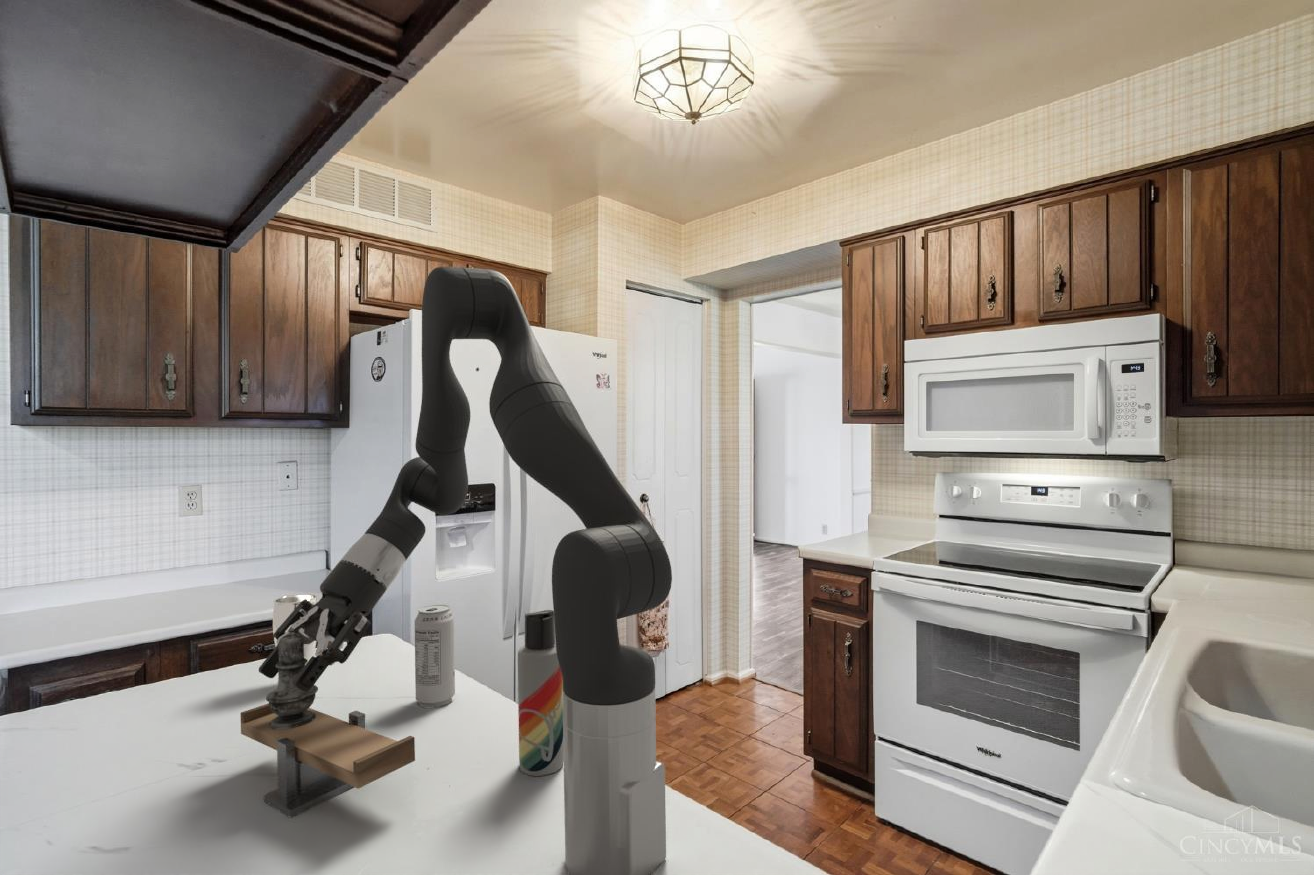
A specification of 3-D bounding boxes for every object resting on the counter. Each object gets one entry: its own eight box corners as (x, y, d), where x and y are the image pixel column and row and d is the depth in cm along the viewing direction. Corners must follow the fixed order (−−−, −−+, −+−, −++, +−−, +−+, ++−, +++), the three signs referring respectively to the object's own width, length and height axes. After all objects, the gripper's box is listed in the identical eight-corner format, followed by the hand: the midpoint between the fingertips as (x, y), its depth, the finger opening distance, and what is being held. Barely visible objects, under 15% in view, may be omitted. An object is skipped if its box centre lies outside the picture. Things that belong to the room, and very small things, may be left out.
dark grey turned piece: (295, 732, 80) (293, 634, 80) (254, 729, 81) (252, 632, 81) (328, 712, 85) (326, 621, 86) (290, 709, 87) (288, 620, 87)
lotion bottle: (529, 781, 80) (527, 619, 80) (512, 762, 84) (510, 609, 84) (571, 768, 83) (569, 611, 83) (553, 750, 87) (550, 602, 87)
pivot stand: (379, 774, 82) (378, 715, 82) (290, 817, 73) (289, 751, 73) (352, 761, 85) (351, 705, 85) (263, 801, 76) (263, 738, 76)
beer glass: (282, 678, 115) (281, 594, 115) (324, 675, 117) (323, 592, 117) (266, 693, 109) (265, 604, 109) (311, 690, 110) (310, 602, 110)
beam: (415, 760, 75) (414, 737, 75) (358, 788, 69) (357, 763, 69) (296, 713, 89) (295, 694, 89) (241, 733, 83) (240, 712, 83)
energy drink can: (463, 698, 106) (461, 606, 106) (433, 712, 100) (432, 615, 100) (437, 691, 109) (436, 602, 109) (407, 704, 103) (406, 610, 103)
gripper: (318, 553, 93) (231, 657, 83) (377, 563, 85) (289, 678, 75) (353, 583, 97) (274, 684, 88) (412, 595, 89) (333, 707, 80)
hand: (281, 681), depth 82 cm, fingers open, 8 cm apart
